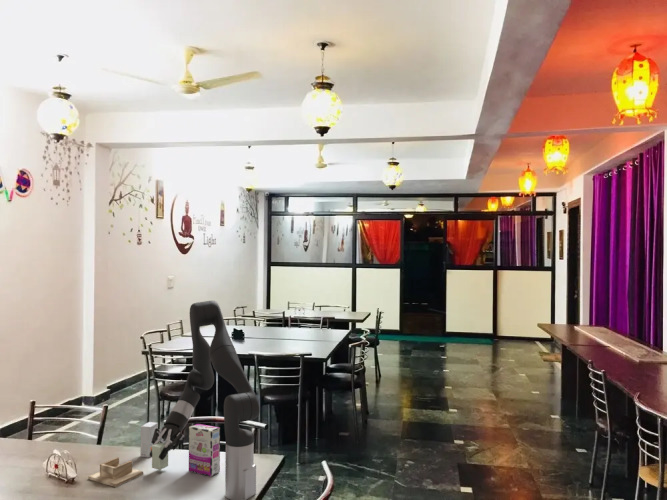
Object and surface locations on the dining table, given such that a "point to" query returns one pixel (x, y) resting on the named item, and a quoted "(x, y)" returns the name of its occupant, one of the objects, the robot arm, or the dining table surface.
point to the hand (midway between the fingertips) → (156, 457)
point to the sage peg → (156, 461)
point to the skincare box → (147, 438)
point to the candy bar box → (204, 449)
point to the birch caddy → (115, 473)
